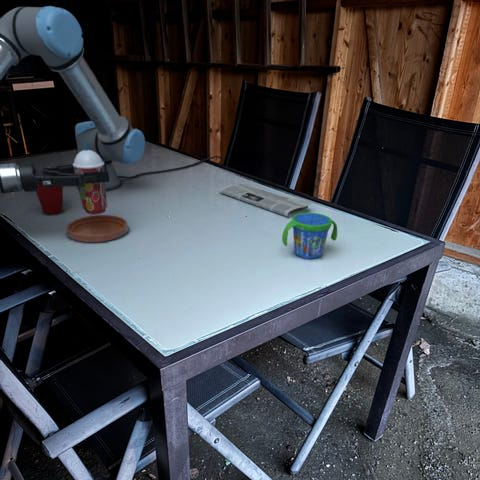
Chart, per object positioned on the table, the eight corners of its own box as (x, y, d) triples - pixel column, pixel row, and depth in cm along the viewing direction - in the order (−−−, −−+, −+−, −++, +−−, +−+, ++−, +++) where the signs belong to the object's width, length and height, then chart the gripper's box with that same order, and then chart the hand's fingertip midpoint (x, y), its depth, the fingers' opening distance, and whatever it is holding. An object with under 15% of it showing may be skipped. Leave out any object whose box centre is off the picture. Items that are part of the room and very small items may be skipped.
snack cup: (327, 244, 137) (331, 210, 131) (342, 259, 128) (347, 223, 123) (275, 248, 133) (277, 213, 128) (287, 264, 125) (289, 227, 119)
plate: (102, 218, 152) (101, 211, 151) (139, 230, 143) (139, 223, 142) (56, 233, 140) (54, 226, 139) (93, 248, 131) (92, 240, 130)
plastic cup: (60, 219, 150) (53, 181, 144) (29, 216, 152) (21, 178, 146) (77, 208, 159) (71, 172, 153) (47, 205, 161) (40, 169, 155)
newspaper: (219, 193, 176) (219, 184, 174) (244, 187, 183) (244, 178, 182) (290, 219, 154) (291, 208, 152) (314, 211, 162) (315, 200, 160)
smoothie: (116, 209, 140) (107, 138, 130) (97, 218, 134) (86, 143, 123) (93, 205, 143) (83, 135, 133) (74, 213, 137) (61, 140, 126)
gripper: (26, 181, 138) (106, 175, 144) (21, 203, 121) (112, 196, 127) (20, 154, 134) (102, 150, 140) (14, 173, 117) (108, 168, 123)
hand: (107, 172), depth 134 cm, fingers closed on smoothie, 8 cm apart
